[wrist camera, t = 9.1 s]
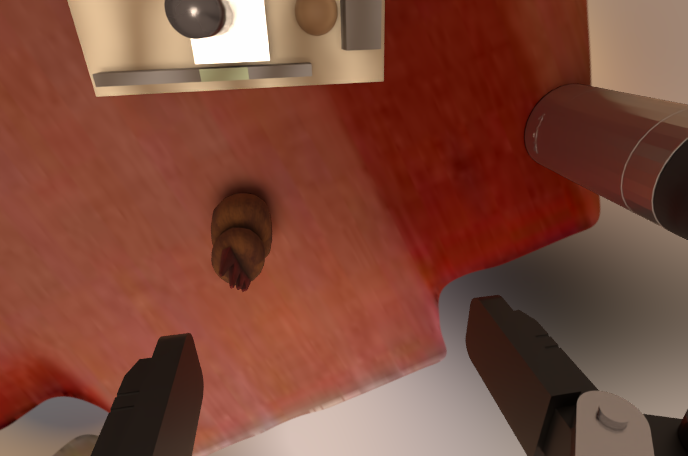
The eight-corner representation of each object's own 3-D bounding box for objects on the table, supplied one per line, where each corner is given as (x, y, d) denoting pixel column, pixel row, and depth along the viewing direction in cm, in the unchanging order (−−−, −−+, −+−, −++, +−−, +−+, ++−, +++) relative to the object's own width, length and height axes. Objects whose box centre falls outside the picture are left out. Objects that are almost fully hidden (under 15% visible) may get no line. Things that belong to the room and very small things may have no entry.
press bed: (382, -70, 34) (395, -81, 30) (380, 79, 40) (391, 85, 36) (53, -68, 31) (24, -80, 27) (101, 94, 36) (82, 102, 33)
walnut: (333, -12, 34) (340, -16, 31) (335, 34, 36) (341, 35, 33) (291, -11, 34) (293, -15, 31) (295, 36, 36) (297, 37, 32)
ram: (260, -35, 33) (254, -65, 22) (270, 58, 36) (269, 71, 25) (184, -34, 32) (139, -64, 21) (201, 61, 35) (169, 76, 24)
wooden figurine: (213, 185, 42) (185, 258, 28) (269, 182, 42) (267, 252, 29) (222, 242, 45) (200, 332, 32) (274, 238, 46) (274, 325, 32)
